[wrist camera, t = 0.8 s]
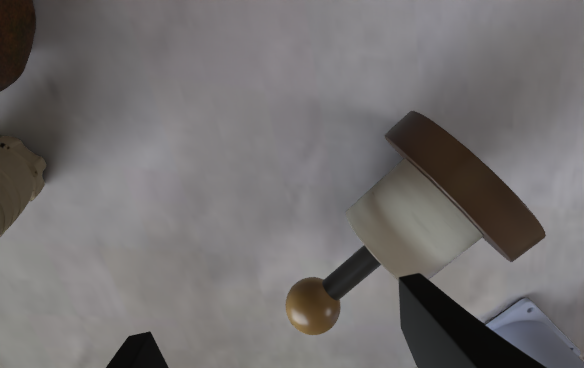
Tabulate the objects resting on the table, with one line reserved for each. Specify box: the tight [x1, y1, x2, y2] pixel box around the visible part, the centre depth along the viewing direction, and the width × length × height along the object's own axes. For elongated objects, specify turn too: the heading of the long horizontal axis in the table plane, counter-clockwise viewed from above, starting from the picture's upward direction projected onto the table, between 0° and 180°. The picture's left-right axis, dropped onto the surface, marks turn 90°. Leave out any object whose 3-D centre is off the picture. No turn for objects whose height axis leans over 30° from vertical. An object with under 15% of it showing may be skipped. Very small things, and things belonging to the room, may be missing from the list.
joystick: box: [286, 111, 546, 335], centre depth 17 cm, size 11×8×8 cm, turn 136°
